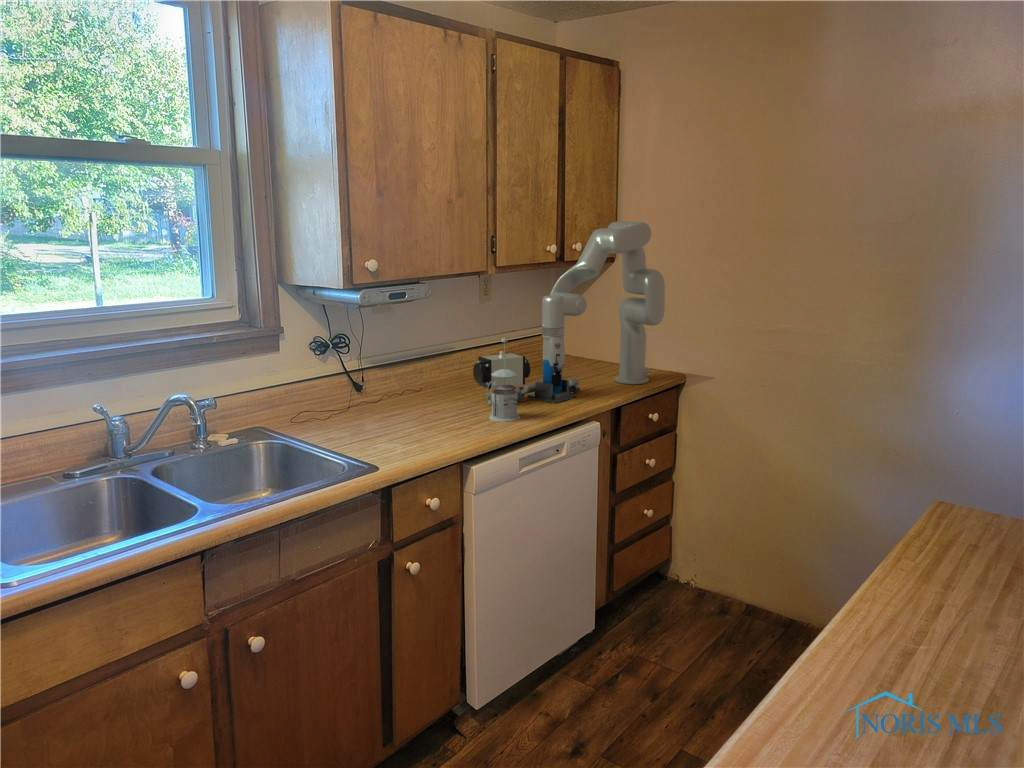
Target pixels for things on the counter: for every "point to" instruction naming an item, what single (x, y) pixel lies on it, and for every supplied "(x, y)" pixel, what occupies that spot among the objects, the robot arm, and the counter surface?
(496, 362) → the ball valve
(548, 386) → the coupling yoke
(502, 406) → the french press
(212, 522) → the counter surface
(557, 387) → the beverage can
